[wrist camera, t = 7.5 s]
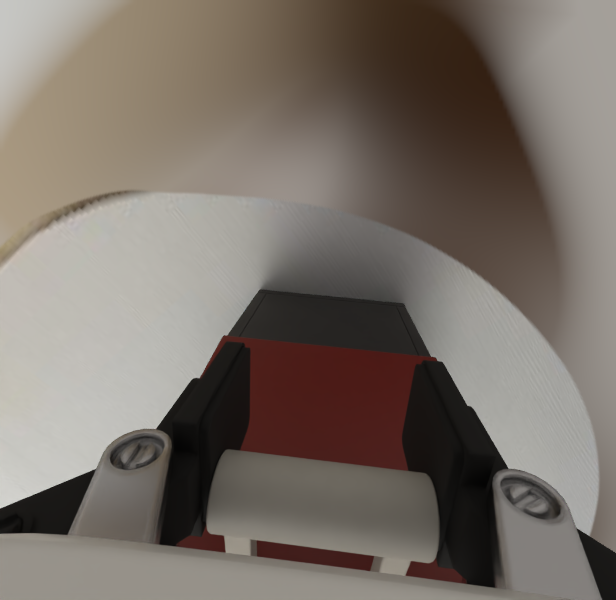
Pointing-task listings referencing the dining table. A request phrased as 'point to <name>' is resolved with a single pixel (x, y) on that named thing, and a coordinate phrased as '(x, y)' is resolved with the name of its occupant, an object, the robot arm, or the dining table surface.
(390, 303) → the dark open-top bin
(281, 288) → the dining table surface
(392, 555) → the bin lid
